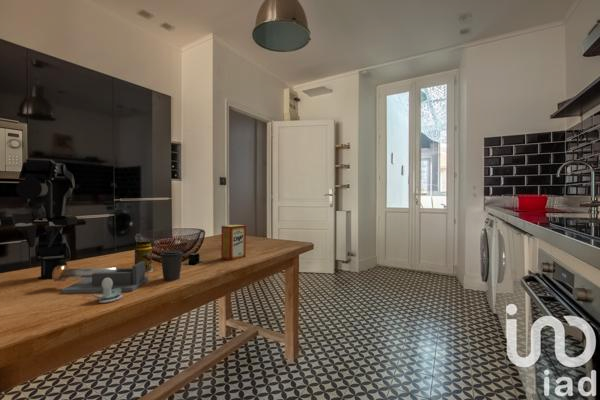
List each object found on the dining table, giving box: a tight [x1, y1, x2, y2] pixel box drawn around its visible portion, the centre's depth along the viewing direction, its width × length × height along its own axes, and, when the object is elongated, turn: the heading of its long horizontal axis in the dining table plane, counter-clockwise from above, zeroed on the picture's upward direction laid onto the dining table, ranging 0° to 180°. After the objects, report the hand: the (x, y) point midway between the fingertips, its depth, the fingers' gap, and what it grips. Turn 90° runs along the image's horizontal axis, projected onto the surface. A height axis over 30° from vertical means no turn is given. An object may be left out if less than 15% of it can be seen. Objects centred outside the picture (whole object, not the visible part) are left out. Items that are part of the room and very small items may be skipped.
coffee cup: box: [159, 249, 185, 282], centre depth 105 cm, size 8×8×10 cm
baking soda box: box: [220, 224, 247, 261], centre depth 142 cm, size 10×6×16 cm
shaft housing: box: [61, 261, 149, 295], centre depth 96 cm, size 20×13×7 cm, turn 98°
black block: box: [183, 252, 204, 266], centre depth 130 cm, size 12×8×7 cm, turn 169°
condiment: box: [134, 239, 154, 274], centre depth 115 cm, size 7×8×12 cm
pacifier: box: [92, 278, 124, 304], centre depth 84 cm, size 7×6×6 cm
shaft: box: [51, 265, 119, 282], centre depth 95 cm, size 18×5×5 cm, turn 98°
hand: (40, 247), depth 93 cm, fingers open, 5 cm apart
